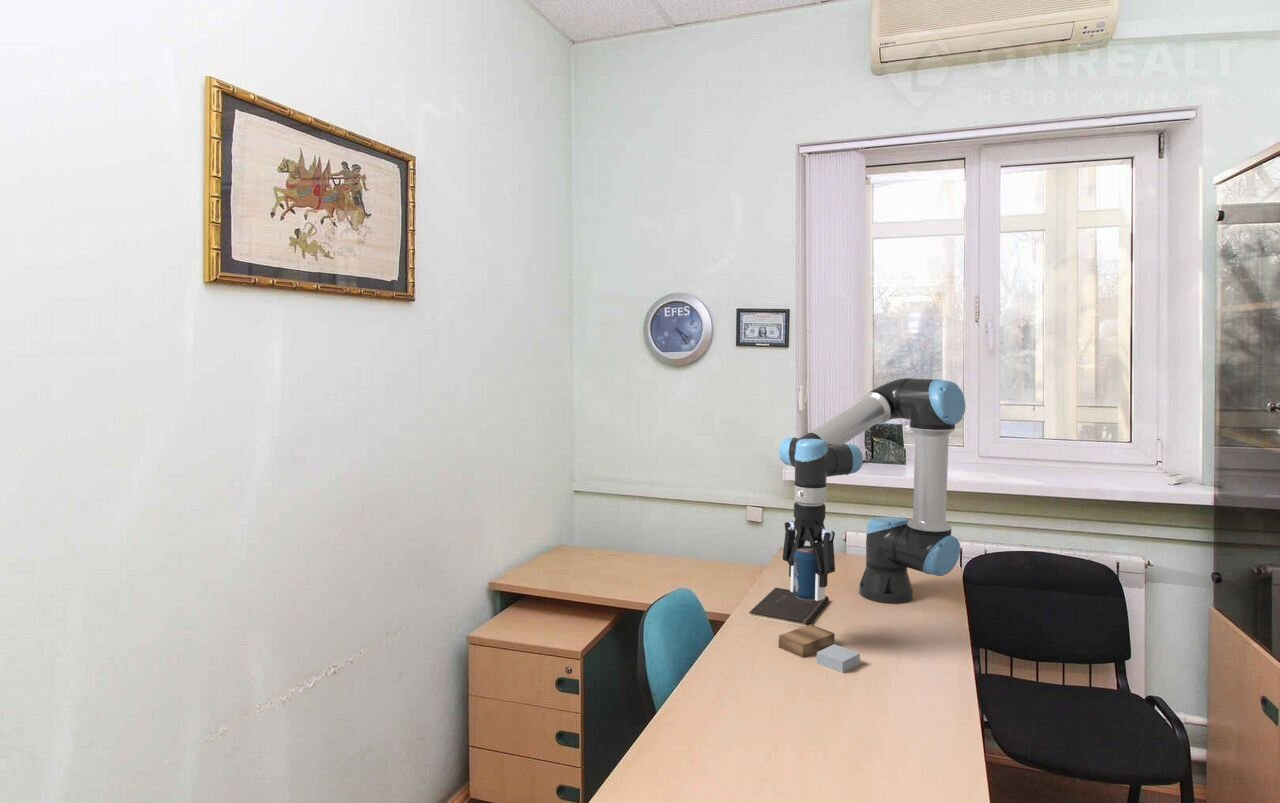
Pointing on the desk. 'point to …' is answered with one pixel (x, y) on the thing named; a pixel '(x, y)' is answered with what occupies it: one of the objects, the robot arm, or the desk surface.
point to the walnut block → (806, 640)
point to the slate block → (838, 658)
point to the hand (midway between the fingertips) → (807, 594)
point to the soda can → (804, 573)
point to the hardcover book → (787, 609)
